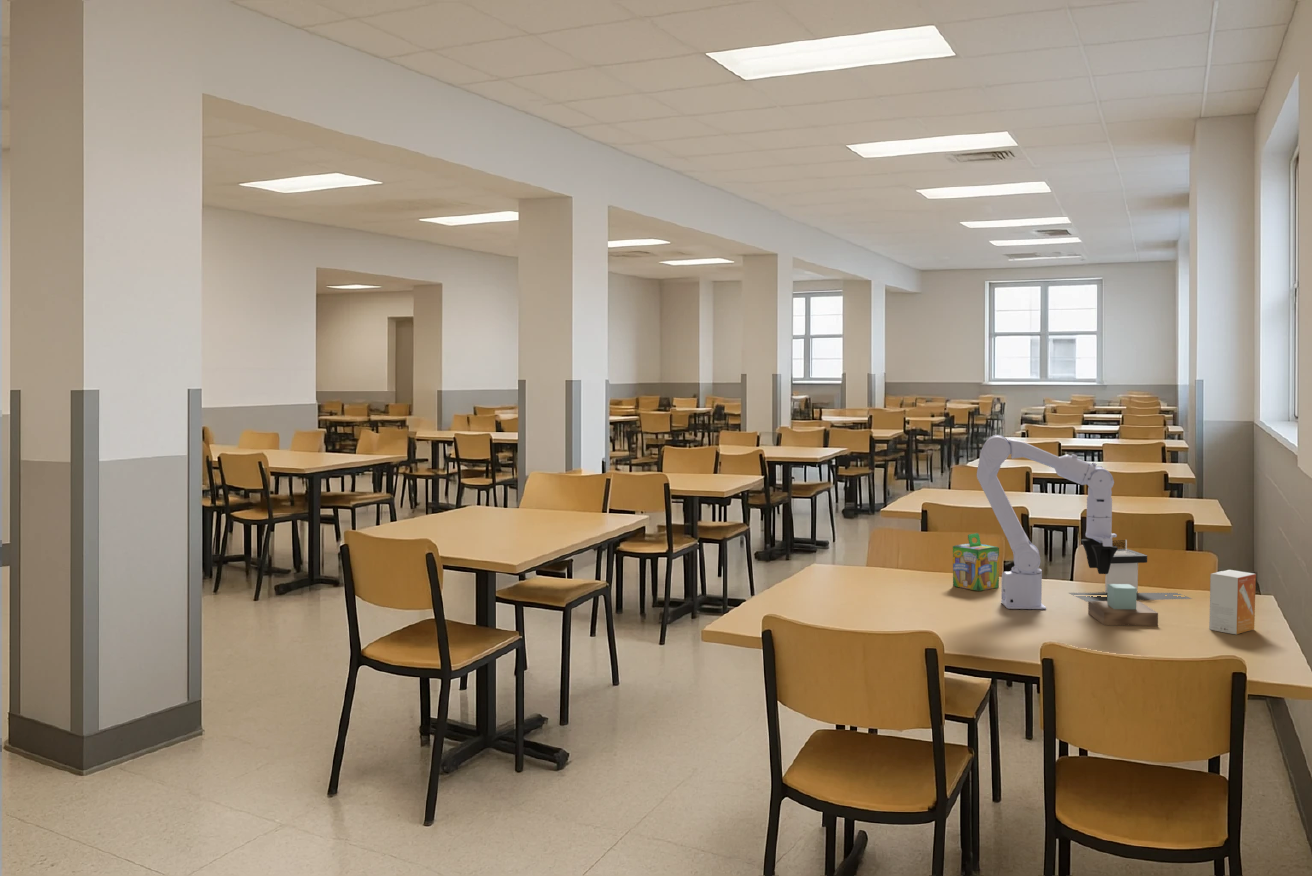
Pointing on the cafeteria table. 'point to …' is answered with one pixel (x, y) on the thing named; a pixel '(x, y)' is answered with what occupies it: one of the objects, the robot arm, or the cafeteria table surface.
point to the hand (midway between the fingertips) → (1098, 570)
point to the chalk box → (975, 565)
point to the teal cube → (1121, 596)
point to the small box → (1232, 601)
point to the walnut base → (1123, 614)
